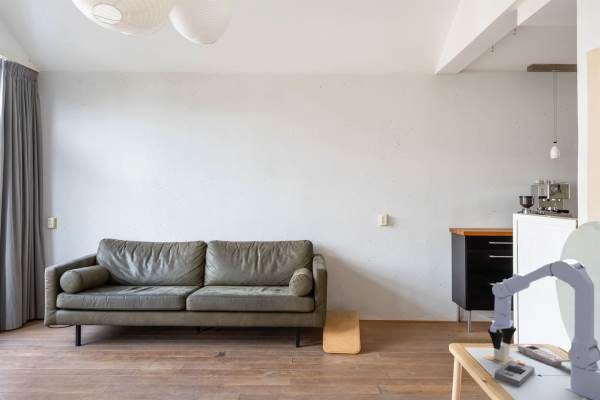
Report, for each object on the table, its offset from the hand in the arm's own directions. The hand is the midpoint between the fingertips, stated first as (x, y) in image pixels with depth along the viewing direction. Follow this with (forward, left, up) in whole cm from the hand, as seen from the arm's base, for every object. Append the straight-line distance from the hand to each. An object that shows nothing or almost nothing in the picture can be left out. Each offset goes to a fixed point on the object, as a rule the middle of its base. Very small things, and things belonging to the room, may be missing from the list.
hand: (501, 346), depth 151 cm
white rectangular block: (0, 0, -5) cm, 5 cm away
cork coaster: (0, 0, -6) cm, 6 cm away
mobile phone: (-9, -16, -6) cm, 19 cm away
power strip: (-10, +10, -6) cm, 15 cm away
